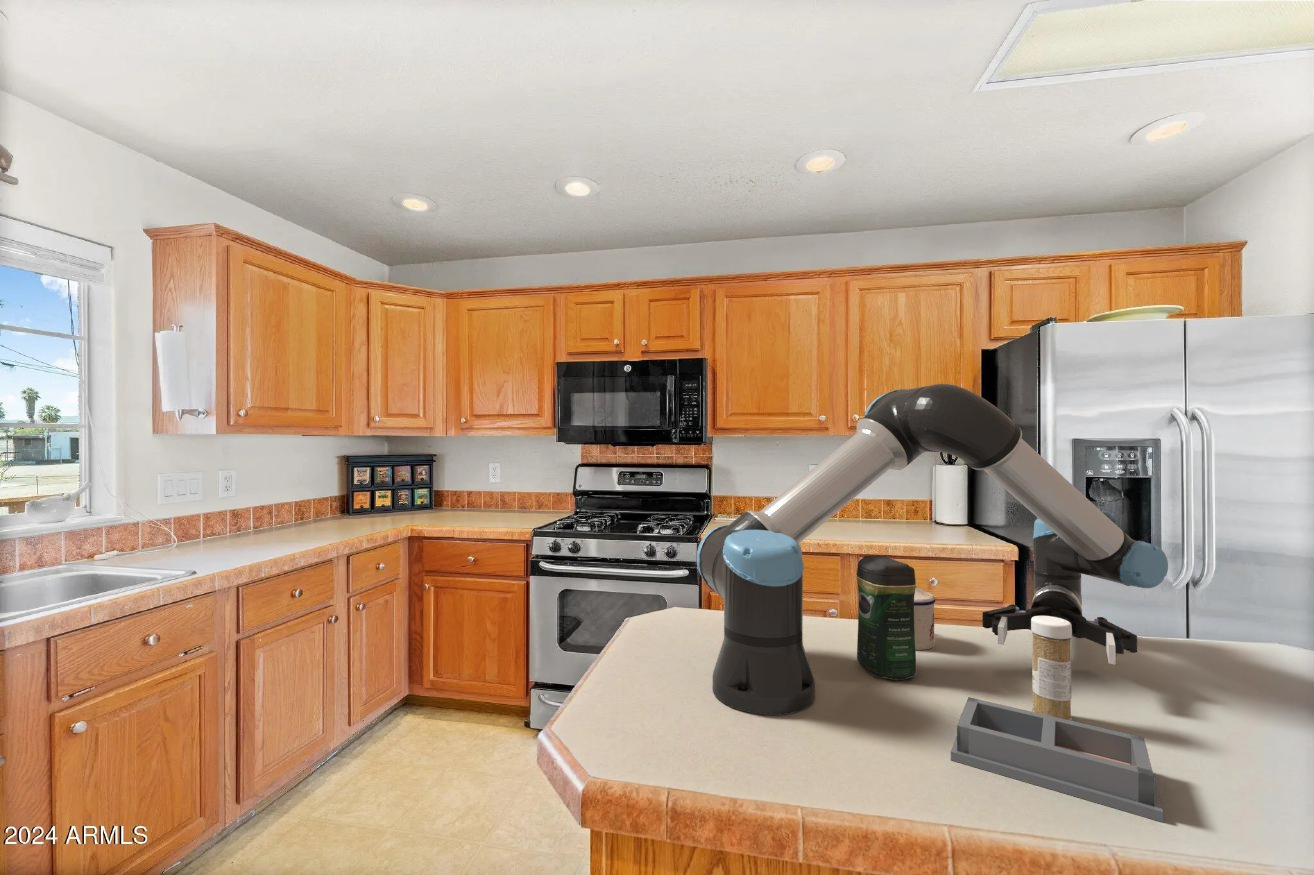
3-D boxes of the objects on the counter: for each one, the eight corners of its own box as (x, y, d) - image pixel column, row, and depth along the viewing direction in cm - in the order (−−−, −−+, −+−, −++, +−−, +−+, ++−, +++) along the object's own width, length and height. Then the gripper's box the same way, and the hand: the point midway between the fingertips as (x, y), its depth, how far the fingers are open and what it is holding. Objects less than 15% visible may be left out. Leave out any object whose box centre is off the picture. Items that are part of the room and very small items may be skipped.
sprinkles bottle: (1036, 707, 80) (1035, 612, 81) (1076, 719, 77) (1075, 619, 77) (1027, 718, 77) (1027, 619, 77) (1068, 730, 74) (1067, 627, 74)
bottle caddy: (950, 759, 67) (950, 725, 67) (964, 724, 76) (964, 694, 76) (1163, 822, 56) (1162, 781, 56) (1150, 772, 64) (1150, 736, 65)
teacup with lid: (943, 652, 102) (943, 587, 102) (891, 650, 103) (891, 585, 103) (919, 630, 114) (919, 572, 114) (872, 629, 115) (872, 571, 115)
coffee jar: (925, 681, 89) (924, 563, 90) (876, 683, 89) (876, 564, 89) (894, 658, 99) (893, 551, 99) (850, 659, 98) (849, 552, 99)
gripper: (1147, 646, 95) (1165, 691, 77) (977, 619, 109) (960, 652, 92) (1147, 601, 95) (1165, 635, 77) (976, 580, 109) (959, 605, 92)
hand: (1053, 644), depth 85 cm, fingers open, 13 cm apart
